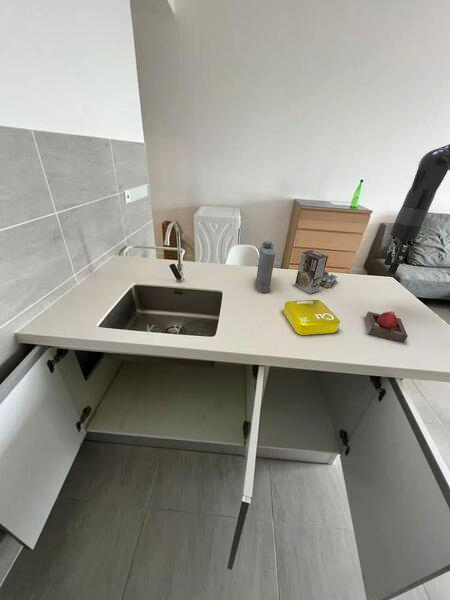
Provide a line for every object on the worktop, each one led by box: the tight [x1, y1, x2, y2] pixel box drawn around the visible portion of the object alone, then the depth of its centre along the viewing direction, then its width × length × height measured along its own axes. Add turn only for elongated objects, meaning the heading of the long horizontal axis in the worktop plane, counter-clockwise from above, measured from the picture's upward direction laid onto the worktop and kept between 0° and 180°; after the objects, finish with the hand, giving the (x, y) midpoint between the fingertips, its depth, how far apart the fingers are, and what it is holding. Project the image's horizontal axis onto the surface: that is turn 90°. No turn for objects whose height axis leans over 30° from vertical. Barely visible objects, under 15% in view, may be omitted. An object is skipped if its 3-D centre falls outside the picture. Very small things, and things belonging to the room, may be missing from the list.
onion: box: [377, 310, 398, 330], centre depth 83 cm, size 6×6×8 cm
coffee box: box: [294, 249, 329, 295], centre depth 105 cm, size 9×6×16 cm
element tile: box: [282, 299, 341, 336], centre depth 86 cm, size 15×15×5 cm
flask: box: [255, 240, 276, 294], centre depth 105 cm, size 15×6×20 cm, turn 174°
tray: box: [364, 311, 408, 344], centre depth 84 cm, size 11×11×3 cm
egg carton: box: [320, 269, 339, 288], centre depth 114 cm, size 11×8×4 cm
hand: (388, 268), depth 86 cm, fingers open, 8 cm apart
